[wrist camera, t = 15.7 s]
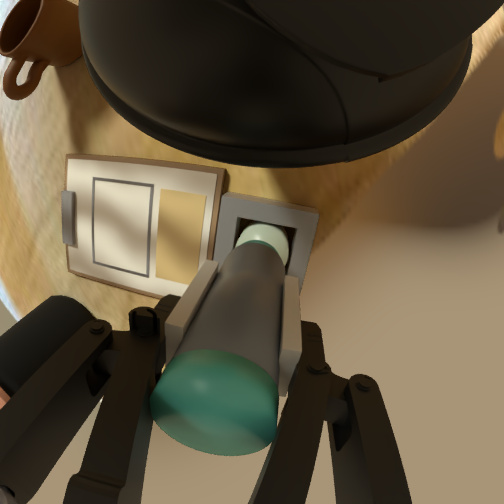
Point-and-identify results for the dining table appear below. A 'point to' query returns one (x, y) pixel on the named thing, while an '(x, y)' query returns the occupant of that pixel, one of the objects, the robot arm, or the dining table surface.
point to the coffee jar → (37, 340)
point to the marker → (228, 360)
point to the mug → (38, 41)
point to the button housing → (269, 212)
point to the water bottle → (280, 72)
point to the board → (140, 221)
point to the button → (267, 236)
